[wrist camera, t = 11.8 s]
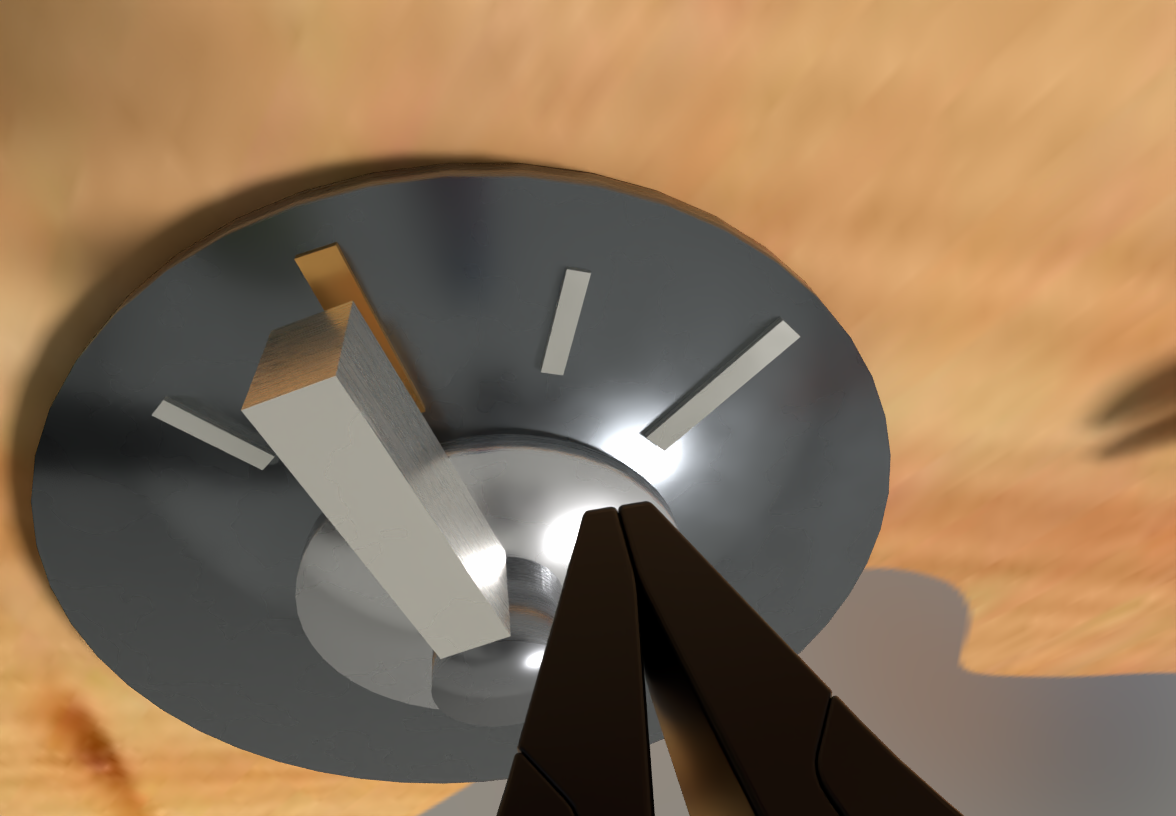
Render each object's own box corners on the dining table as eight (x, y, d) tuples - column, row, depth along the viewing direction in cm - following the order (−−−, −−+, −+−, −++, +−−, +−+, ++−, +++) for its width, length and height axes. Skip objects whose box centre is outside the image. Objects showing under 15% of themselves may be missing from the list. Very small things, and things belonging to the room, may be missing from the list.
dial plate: (529, 813, 36) (531, 839, 35) (-101, 618, 23) (-125, 651, 22) (1010, 492, 27) (1030, 516, 26) (411, -123, 14) (408, -121, 13)
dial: (716, 628, 27) (748, 725, 24) (410, 726, 28) (404, 831, 25) (560, 207, 17) (582, 286, 14) (87, 384, 18) (13, 492, 15)
